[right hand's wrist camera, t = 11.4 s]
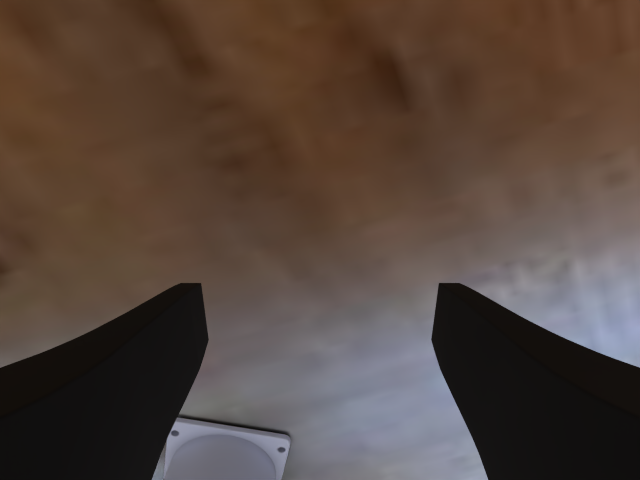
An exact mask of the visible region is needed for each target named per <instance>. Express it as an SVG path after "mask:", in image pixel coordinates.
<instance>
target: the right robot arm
mask: <svg viewBox="0 0 640 480" xmlns="http://www.w3.org/2000/svg"><path fill="white" fill-rule="evenodd" d="M208 340H209V339H208V332H207V324H206V317H205V309H204V302H203V294H202V287H201V283H180V284H178V285H175V286H173V287H171V288H169V289H168V290H166V291H164V292H162V293H160V294H158V295H157V296H155V297H153V298H151V299H150V300H148V301H146V302H144V303H143V304H141V305H139V306H137V307H136V308H134V309H132V310H130V311H129V312H127V313H125V314H123V315H121V316H119V317H117V318H115V319H113V320H112V321H110V322H108V323H106V324H104V325H102V326H100V327H98V328H96V329H94V330H92V331H90V332H88V333H86V334H84V335H82V336H80V337H78V338H75V339H73V340H71V341H69V342H66V343H64V344H62V345H59V346H57V347H55V348H52V349H50V350H47V351H45V352H42V353H40V354H37V355H34V356H32V357H29V358H26V359H23V360H21V361H18V362H15V363H12V364H10V365H7V366H4V367H1V368H0V480H152V477H153V474H154V471H155V469H156V466H157V463H158V460H159V457H160V455H161V452H162V450H163V447H164V445H165V443H166V440H167V444H166V455H165V467H164V478H163V480H281V479H282V476H283V472H284V468H285V464H286V460H287V456H288V452H289V448H290V443H291V439H290V437H289V436H288V435H285V434H279V433H273V432H266V431H260V430H254V429H247V428H241V427H235V426H229V425H222V424H216V423H210V422H203V421H197V420H191V419H184V418H177V417H178V415H179V412H180V410H181V408H182V406H183V404H184V402H185V400H186V398H187V395H188V393H189V391H190V389H191V387H192V385H193V383H194V380H195V378H196V376H197V374H198V372H199V369H200V366H201V363H202V360H203V357H204V354H205V350H206V347H207V343H208ZM431 340H432V343H433V347H434V350H435V354H436V357H437V360H438V363H439V366H440V369H441V372H442V374H443V376H444V378H445V380H446V383H447V385H448V387H449V389H450V391H451V393H452V395H453V398H454V400H455V402H456V404H457V406H458V408H459V410H460V412H461V415H462V417H463V419H464V421H465V423H466V425H467V427H468V429H469V431H470V434H471V436H472V438H473V440H474V443H475V445H476V447H477V450H478V452H479V455H480V457H481V460H482V463H483V466H484V469H485V471H486V474H487V477H488V480H640V368H639V367H636V366H633V365H630V364H628V363H625V362H622V361H619V360H616V359H613V358H611V357H608V356H606V355H603V354H600V353H598V352H595V351H593V350H591V349H588V348H586V347H584V346H581V345H579V344H577V343H574V342H572V341H569V340H567V339H565V338H563V337H561V336H558V335H556V334H554V333H552V332H550V331H548V330H546V329H544V328H542V327H540V326H538V325H536V324H534V323H532V322H530V321H528V320H526V319H525V318H523V317H521V316H519V315H517V314H515V313H514V312H512V311H510V310H508V309H506V308H505V307H503V306H501V305H499V304H498V303H496V302H494V301H492V300H491V299H489V298H487V297H485V296H484V295H482V294H480V293H478V292H476V291H475V290H473V289H471V288H469V287H467V286H465V285H463V284H460V283H439V287H438V294H437V302H436V309H435V317H434V324H433V332H432V339H431ZM175 430H176V431H175Z"/></svg>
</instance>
